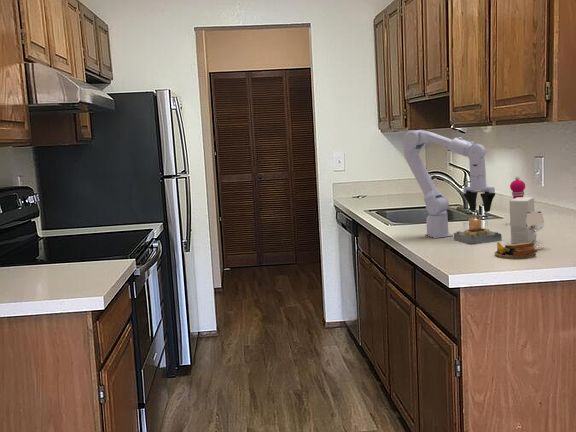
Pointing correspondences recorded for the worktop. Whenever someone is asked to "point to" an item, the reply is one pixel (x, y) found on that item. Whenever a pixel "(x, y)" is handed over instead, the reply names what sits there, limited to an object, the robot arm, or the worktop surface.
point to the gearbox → (477, 236)
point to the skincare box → (521, 220)
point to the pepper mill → (517, 188)
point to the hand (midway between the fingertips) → (480, 211)
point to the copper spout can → (475, 224)
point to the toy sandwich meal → (515, 250)
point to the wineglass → (534, 224)
